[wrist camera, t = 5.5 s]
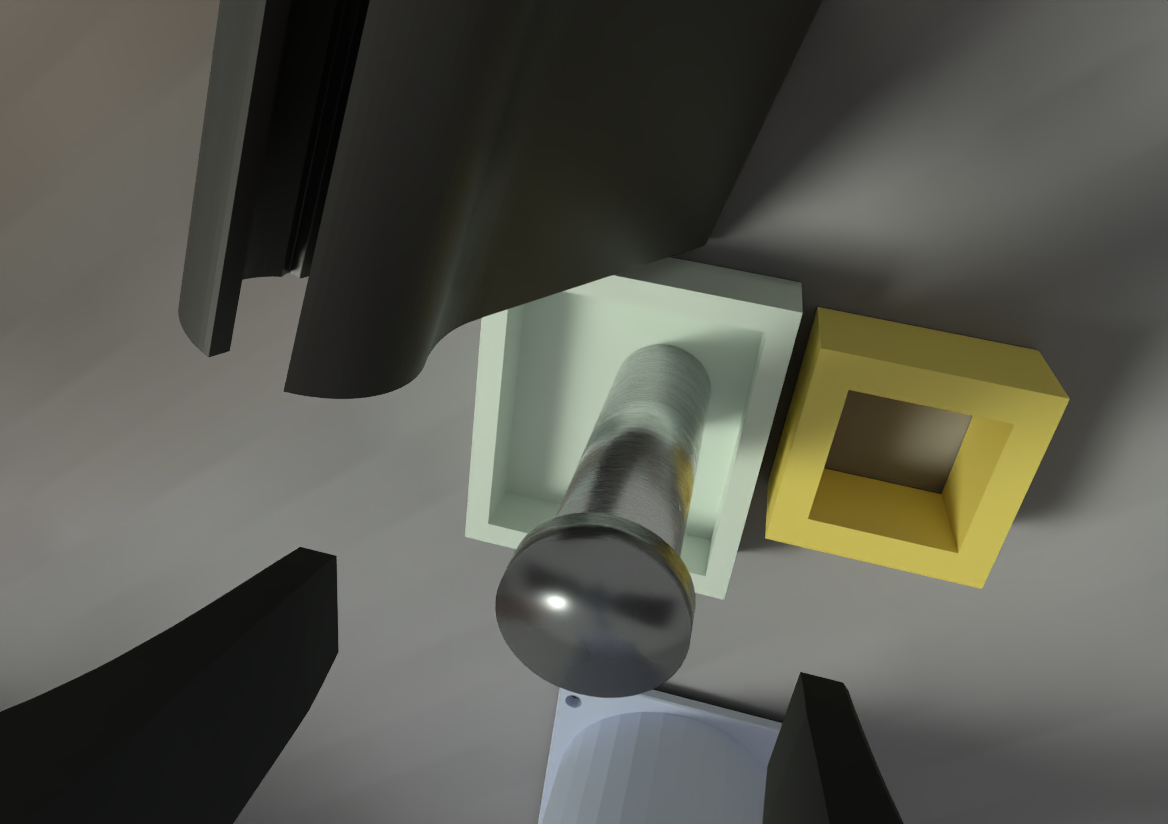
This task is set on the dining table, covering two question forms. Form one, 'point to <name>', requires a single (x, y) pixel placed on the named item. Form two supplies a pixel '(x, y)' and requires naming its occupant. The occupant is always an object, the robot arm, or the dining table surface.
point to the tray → (585, 376)
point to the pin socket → (894, 512)
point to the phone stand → (462, 160)
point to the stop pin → (616, 541)
